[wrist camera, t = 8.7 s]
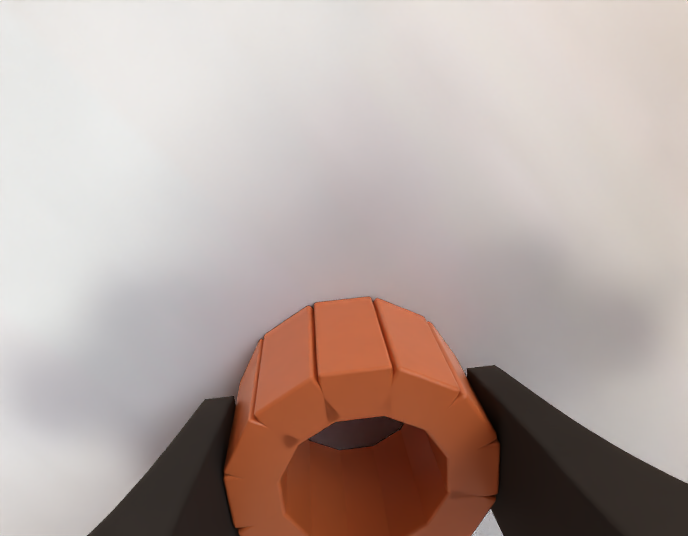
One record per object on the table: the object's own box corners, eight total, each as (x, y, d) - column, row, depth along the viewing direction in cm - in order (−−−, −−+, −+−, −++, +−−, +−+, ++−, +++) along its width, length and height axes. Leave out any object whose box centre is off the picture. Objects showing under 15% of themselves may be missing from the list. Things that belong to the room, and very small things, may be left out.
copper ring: (457, 285, 11) (505, 353, 8) (457, 466, 13) (497, 566, 10) (224, 311, 11) (201, 389, 8) (258, 490, 13) (248, 599, 10)
